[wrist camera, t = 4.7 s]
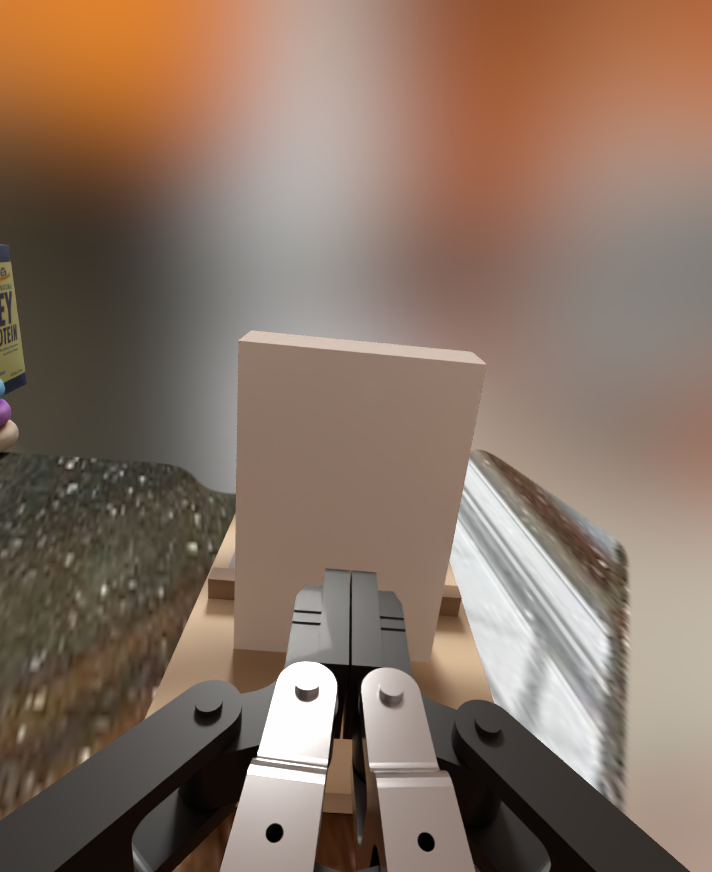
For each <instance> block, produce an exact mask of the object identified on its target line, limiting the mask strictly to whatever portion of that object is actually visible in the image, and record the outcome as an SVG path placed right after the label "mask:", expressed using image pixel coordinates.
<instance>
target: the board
mask: <svg viewBox="0 0 712 872" xmlns="http://www.w3.org/2000/svg"><path fill="white" fill-rule="evenodd" d="M235 532H236V513H235V516H234V518H233V520H232V522H231V525H230V527H229V529H228V531H227V534H226V536H225V538H224V541H223V543H222V545H221V547H220V550H219V552H218V554H217V556H216V559H215V561H214V563H213V565H212V568H211V570H210V572H209V575H208V577H207V579H206V581H205V584H204V586H203V588H202V590H201V593H200V595H199V597H198V599H197V602H196V604H195V606H194V609H193V611H192V613H191V615H190V618H189V620H188V622H187V624H186V627H185V629H184V631H183V633H182V636H181V638H180V640H179V643H178V645H177V647H176V649H175V652H174V654H173V656H172V658H171V661H170V663H169V665H168V667H167V670H166V672H165V674H164V676H163V679H162V681H161V683H160V686H159V688H158V690H157V692H156V695H155V697H154V699H153V701H152V704H151V706H150V708H149V710H148V713H147V715H146V717H145V719H146V718H147V717H149V716H150V715H152V714H153V713H155V712H156V711H157V710H159V709H160V708H162V707H163V706H165V705H166V704H167V703H169V702H170V701H172V700H173V699H175V698H176V697H177V696H179V695H180V694H182V693H183V692H185V691H186V690H187V689H189V688H190V687H192V686H194V685H196V684H198V683H200V682H204V681H208V680H222V681H225V682H228V683H230V684H232V685H233V686H235V687H236V688H237V689H238V691H239V692H240V694H244V693H248V692H253V691H257V690H260V689H263V688H265V687H267V686H269V685H271V684H272V683H273V682H275V681H276V680H277V679H278V678H279V676H280V675H281V673H282V672H283V670H284V667H285V662H286V656H287V652H273V651H258V650H244V649H234V593H235ZM461 599H462V598H461V595H460V592H459V588H458V586H457V584H456V581H455V578H454V575H453V572H452V568H451V565H450V562H449V564H448V569H447V575H446V580H445V585H444V590H443V595H442V601H441V606H440V611H439V616H438V621H437V627H436V632H435V637H434V642H433V647H432V653H431V658H430V663H429V662H415V661H410V664H411V672H412V677H413V679H414V681H415V682H416V683H417V685H418V687H419V689H420V691H421V692H422V693H423V694H425V695H426V696H427V697H428V698H430V699H432V700H433V701H435V702H437V703H440V704H442V705H445V706H448V707H451V708H453V709H456V710H458V708H459V707H460V706H461V705H462V704H463V703H465V702H467V701H470V700H475V699H476V700H486V701H489V702H492V703H494V701H493V698H492V695H491V692H490V689H489V686H488V682H487V679H486V676H485V673H484V670H483V667H482V663H481V660H480V657H479V654H478V651H477V648H476V644H475V641H474V638H473V635H472V632H471V629H470V625H469V622H468V619H467V616H466V613H465V610H464V606H463V603H462V600H461ZM351 759H352V740H349V739H343V718H342V726H341V734H340V739H334V745H333V754H332V760H331V764H330V766H329V768H328V773H327V781H326V789H325V797H324V805H323V812H330V813H348V814H353V811H352V797H351V782H350V767H351ZM238 804H239V802H237V804H236V806H235V807H238Z"/></svg>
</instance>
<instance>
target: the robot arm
mask: <svg viewBox="0 0 712 872" xmlns="http://www.w3.org/2000/svg"><path fill="white" fill-rule="evenodd" d="M342 718H343V739H349V740H352V759H351V767H350V782H351V797H352V811H353V826H354V840H355V855H356V871H355V872H475V868H474V864H475V865H476V867H477V868H478V869H479V870H480V871H481V872H690V871H689V870H688V869H686V868H685V867H684V866H683V865H682V864H681V863H680V862H678V861H677V860H676V859H675V858H674V857H673V856H672V855H670V854H669V853H668V852H667V851H666V850H665V849H664V848H662V847H661V846H660V845H659V844H658V843H657V842H655V841H654V840H653V839H652V838H651V837H649V835H647V834H646V833H645V832H644V831H643V830H642V829H641V828H639V827H638V826H637V825H636V824H635V823H634V822H633V821H631V820H630V819H629V818H628V817H627V816H626V815H625V814H623V813H622V812H621V811H620V810H619V809H618V808H616V807H615V806H614V805H613V804H612V803H611V802H610V801H608V800H607V799H606V798H605V797H604V796H603V795H602V794H600V793H599V792H598V791H597V790H596V789H595V788H594V787H592V786H591V785H590V784H589V783H588V782H587V781H586V780H584V779H583V778H582V777H581V776H580V775H579V774H577V773H576V772H575V771H574V770H573V769H572V768H571V767H569V766H568V765H567V764H566V763H565V762H564V761H563V760H561V759H560V758H559V757H558V756H557V755H556V754H555V753H553V752H552V751H551V750H550V749H549V748H548V747H547V746H545V745H544V744H543V743H542V742H541V741H540V740H538V739H537V738H536V737H535V736H534V735H533V734H532V733H530V732H529V731H528V730H527V729H526V728H525V727H524V726H522V725H521V724H520V723H519V722H518V721H517V720H516V719H514V718H513V717H512V716H511V715H510V714H509V713H508V712H506V711H505V710H504V709H503V708H501V707H500V706H498V705H496V704H494V703H492V702H489V701H486V700H476V699H475V700H470V701H467V702H465V703H463V704H462V705H461V706H460V707H459V708H458V710H456V709H453V708H451V707H448V706H445V705H442V704H440V703H437V702H435V701H433V700H432V699H430V698H428V697H427V696H426V695H425V694H423V693H422V692H421V691H420V689H419V687H418V685H417V683H416V682H415V681H414V679H413V677H412V672H411V664H410V657H409V650H408V643H407V636H406V628H405V621H404V614H403V607H402V603H401V602H400V600H399V599H398V597H397V596H396V595H395V593H394V592H393V591H381V590H378V586H377V574H376V572H367V571H354V570H352V571H351V578H350V570H341V569H328V568H325V578H324V586H316V585H305V586H304V587H303V588H302V590H301V591H300V592H299V593H298V595H297V596H296V601H295V607H294V613H293V619H292V625H291V631H290V637H289V643H288V650H287V656H286V662H285V667H284V670H283V672H282V673H281V675H280V676H279V678H278V679H277V680H276V681H275V682H273V683H272V684H271V685H269V686H267V687H265V688H263V689H260V690H257V691H253V692H248V693H244V694H240V692H239V691H238V689H237V688H236V687H235V686H233V685H232V684H230V683H228V682H225V681H222V680H208V681H204V682H200V683H198V684H196V685H194V686H192V687H190V688H189V689H187V690H186V691H185V692H183V693H182V694H180V695H179V696H177V697H176V698H175V699H173V700H172V701H170V702H169V703H167V704H166V705H165V706H163V707H162V708H160V709H159V710H157V711H156V712H155V713H153V714H152V715H150V716H149V717H147V718H146V719H145V720H143V721H142V722H140V723H139V724H138V725H136V726H135V727H133V728H132V729H130V730H129V731H128V732H126V733H125V734H123V735H122V736H120V737H119V738H118V739H116V740H115V741H113V742H112V743H110V744H109V745H108V746H106V747H105V748H103V749H102V750H100V751H99V752H98V753H96V754H95V755H93V756H92V757H90V758H89V759H88V760H86V761H85V762H83V763H82V764H80V765H79V766H78V767H76V768H75V769H73V770H72V771H70V772H69V773H68V774H66V775H65V776H63V777H62V778H60V779H59V780H58V781H56V782H55V783H53V784H52V785H51V786H49V787H48V788H46V789H45V790H43V791H42V792H41V793H39V794H38V795H36V796H35V797H33V798H32V799H31V800H29V801H28V802H26V803H25V804H23V805H22V806H21V807H19V808H18V809H16V810H15V811H13V812H12V813H11V814H9V815H8V816H6V817H5V818H3V819H2V820H1V821H0V872H172V871H173V870H174V869H175V868H176V867H177V866H178V865H179V864H180V863H181V862H182V861H183V860H184V859H185V858H186V857H187V856H188V855H189V854H190V853H191V852H192V851H193V850H194V849H195V848H196V847H197V846H198V845H199V844H200V843H201V842H202V841H203V840H204V839H205V838H206V837H207V836H208V835H209V834H210V833H211V832H212V831H213V830H214V829H215V828H216V827H217V826H218V825H219V824H220V823H221V822H222V821H223V820H224V819H225V818H226V817H227V816H228V815H229V814H230V813H231V812H232V811H233V809H234V808H235V806H236V804H237V802H239V804H238V808H237V811H236V815H235V819H234V822H233V826H232V829H231V833H230V836H229V840H228V843H227V847H226V851H225V854H224V858H223V861H222V865H221V868H220V872H340V871H337V870H335V869H332V868H329V867H327V866H324V865H321V864H319V863H316V861H317V853H318V845H319V837H320V829H321V821H322V813H323V805H324V797H325V789H326V781H327V773H328V768H329V766H330V764H331V760H332V754H333V745H334V739H340V734H341V726H342ZM473 863H474V864H473Z"/></svg>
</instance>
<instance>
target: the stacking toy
mask: <svg viewBox="0 0 712 872" xmlns="http://www.w3.org/2000/svg"><path fill="white" fill-rule="evenodd" d="M4 392H5V386H4V383H3V381H2V380H1V379H0V452H3V451H5V450H6V449H8V448H9V447H11V446H12V445H13V444H14V443H15V442H16V440H17V438H18V428H17V426H16V425H15V424H14V423H13V422H12V421H11V420H9V419H10V415H11V409H10V406H9V405H8V403H7V402H6V401H4V400H3V399H1V398H2V397H3V395H4Z"/></svg>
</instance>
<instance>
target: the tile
mask: <svg viewBox="0 0 712 872" xmlns="http://www.w3.org/2000/svg"><path fill="white" fill-rule="evenodd" d="M238 348H239V349H238V350H239V353H238V410H237V412H238V413H237V470H236V472H237V473H236V532H235V593H234V649H244V650H258V651H273V652H287V650H288V643H289V637H290V631H291V625H292V619H293V613H294V607H295V601H296V596H297V595H298V593H299V592H300V591H301V590H302V588H303V587H304V586H305V585H316V586H324V578H325V568H328V569H341V570H350V578H351V571H352V570H354V571H367V572H376V574H377V586H378V590H381V591H393V592H394V593H395V595H396V596H397V597H398V599H399V600H400V602H401V603H402V607H403V614H404V621H405V628H406V636H407V643H408V650H409V657H410V661H415V662H429V663H430V658H431V653H432V647H433V642H434V637H435V632H436V627H437V621H438V616H439V611H440V606H441V601H442V595H443V590H444V585H445V580H446V575H447V569H448V564H449V559H450V554H451V549H452V543H453V538H454V533H455V528H456V523H457V517H458V512H459V507H460V502H461V497H462V492H463V486H464V481H465V476H466V471H467V466H468V460H469V455H470V450H471V445H472V440H473V434H474V429H475V424H476V418H477V413H478V408H479V403H480V398H481V393H482V388H483V382H484V377H485V372H486V367H487V364H486V363H484V362H483V361H482V360H481V359H480V358H478V357H477V356H476V355H475V354H474V353H472V352H466V351H455V350H445V349H434V348H425V347H414V346H404V345H395V344H384V343H373V342H364V341H353V340H343V339H333V338H322V337H312V336H302V335H291V334H282V333H270V332H261V331H250V332H249V333H248V334H246V335H245V336H244V337H243V338H241V339H240V340H239V347H238Z"/></svg>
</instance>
